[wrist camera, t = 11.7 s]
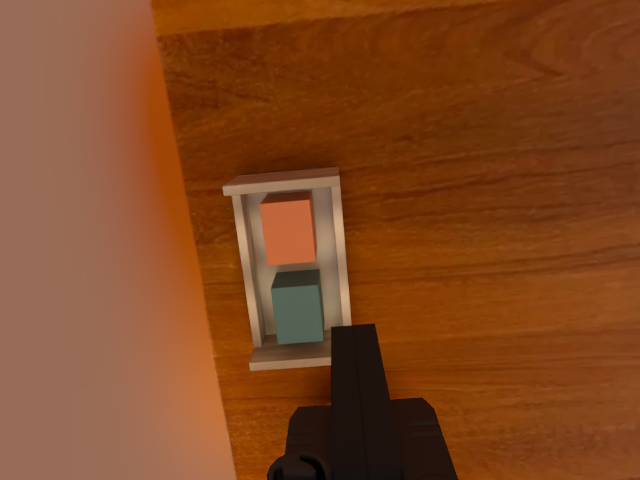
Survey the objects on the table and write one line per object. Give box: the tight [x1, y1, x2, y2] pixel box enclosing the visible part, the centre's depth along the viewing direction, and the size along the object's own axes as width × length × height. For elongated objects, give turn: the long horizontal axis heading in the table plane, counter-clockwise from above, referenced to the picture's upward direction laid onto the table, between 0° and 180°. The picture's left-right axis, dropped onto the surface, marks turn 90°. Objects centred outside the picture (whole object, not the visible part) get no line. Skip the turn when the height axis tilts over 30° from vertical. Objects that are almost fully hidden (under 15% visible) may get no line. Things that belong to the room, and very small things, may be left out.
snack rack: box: [222, 166, 352, 371], centre depth 40 cm, size 16×9×6 cm, turn 5°
